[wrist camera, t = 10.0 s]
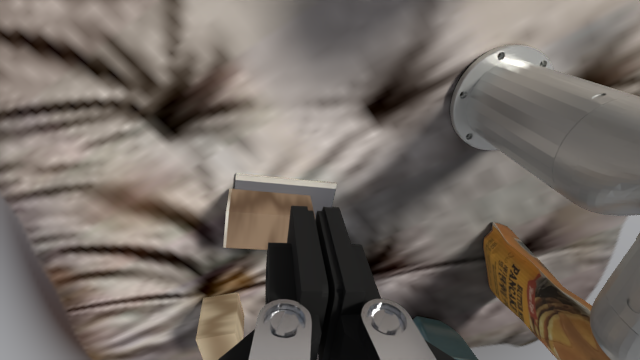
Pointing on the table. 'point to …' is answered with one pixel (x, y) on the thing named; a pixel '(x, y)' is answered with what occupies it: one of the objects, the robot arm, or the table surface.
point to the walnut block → (259, 218)
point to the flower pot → (444, 338)
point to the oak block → (219, 325)
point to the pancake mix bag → (539, 297)
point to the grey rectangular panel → (290, 188)
